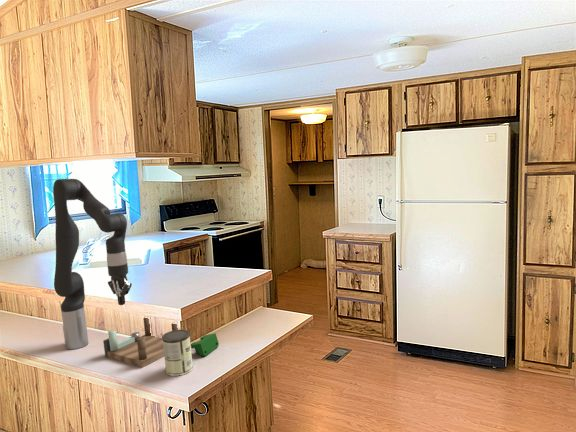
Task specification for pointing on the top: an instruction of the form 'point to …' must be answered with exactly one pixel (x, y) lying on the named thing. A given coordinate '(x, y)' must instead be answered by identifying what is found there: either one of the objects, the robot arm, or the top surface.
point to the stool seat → (139, 348)
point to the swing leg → (115, 346)
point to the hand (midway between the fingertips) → (121, 304)
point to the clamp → (206, 344)
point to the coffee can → (177, 352)
